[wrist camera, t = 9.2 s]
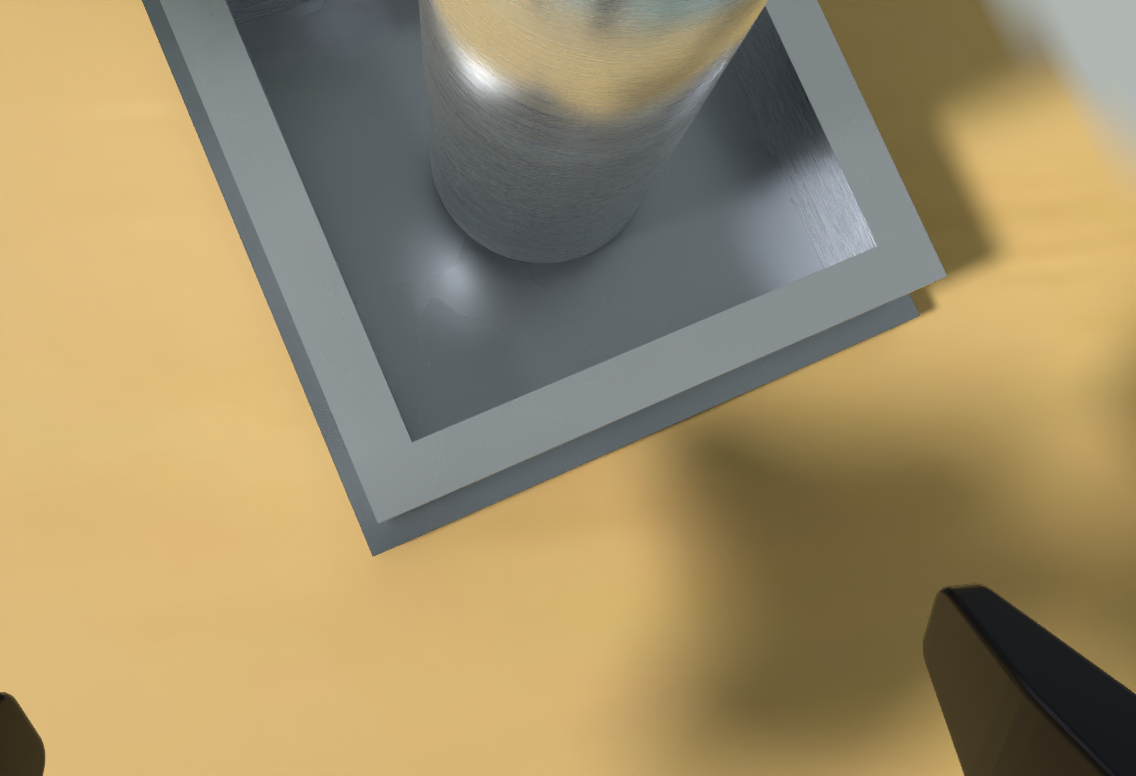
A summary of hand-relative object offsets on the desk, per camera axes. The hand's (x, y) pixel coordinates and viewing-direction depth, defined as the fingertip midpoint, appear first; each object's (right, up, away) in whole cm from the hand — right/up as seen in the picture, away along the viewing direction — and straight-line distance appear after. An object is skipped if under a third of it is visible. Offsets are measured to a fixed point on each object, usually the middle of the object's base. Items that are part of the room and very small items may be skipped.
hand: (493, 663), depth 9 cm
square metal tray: (0, +7, +10) cm, 12 cm away
